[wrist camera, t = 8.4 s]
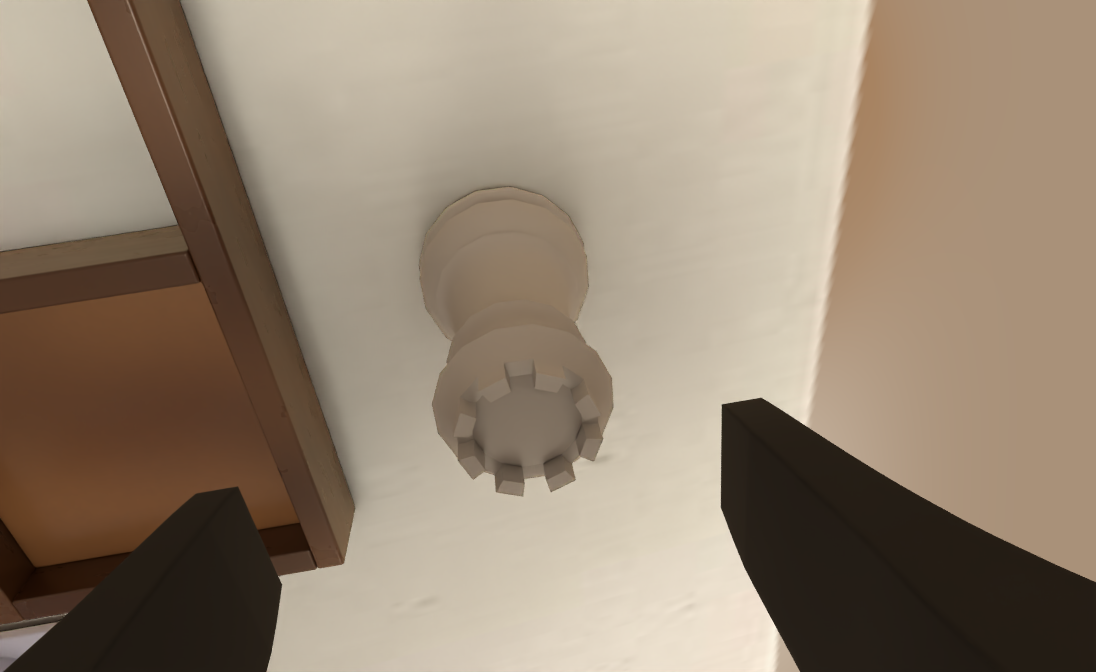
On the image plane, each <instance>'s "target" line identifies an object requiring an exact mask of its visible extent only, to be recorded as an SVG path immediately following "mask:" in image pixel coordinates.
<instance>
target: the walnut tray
mask: <svg viewBox="0 0 1096 672" xmlns="http://www.w3.org/2000/svg"><path fill="white" fill-rule="evenodd" d="M87 1H88V4H89V6H90V8H91V11H92V13H93V16H94V18H95V21H96V23H97V26H98V28H99V31H100V33H101V35H102V38H103V40H104V43H105V45H106V48H107V50H108V53H109V55H110V58H111V60H112V63H113V65H114V67H115V70H116V72H117V75H118V77H119V80H120V82H121V85H122V87H123V90H124V92H125V94H126V97H127V99H128V102H129V104H130V107H131V109H132V112H133V114H134V117H135V119H136V122H137V124H138V126H139V129H140V131H141V134H142V136H143V139H144V141H145V144H146V146H147V149H148V151H149V154H150V156H151V158H152V161H153V163H154V166H155V168H156V171H157V173H158V176H159V178H160V181H161V183H162V185H163V188H164V190H165V193H166V195H167V198H168V200H169V203H170V205H171V208H172V210H173V213H174V215H175V217H176V220H177V222H178V226H172V227H165V228H158V229H152V230H145V231H138V232H132V233H125V234H118V235H112V236H105V237H98V238H92V239H85V240H79V241H72V242H65V243H59V244H52V245H45V246H39V247H32V248H25V249H19V250H12V251H6V252H0V625H2V624H8V623H14V622H19V621H23V620H24V619H25V620H30V619H36V618H41V617H47V616H53V615H58V614H64V613H69V612H70V611H71V610H72V609H73V608H74V607H75V606H76V605H77V604H78V603H79V602H80V601H82V600H83V599H84V598H85V597H86V596H87V595H88V594H89V593H90V592H91V591H92V590H93V589H94V588H95V587H96V586H97V585H98V584H99V583H100V582H101V581H103V580H104V579H105V578H106V577H107V576H108V575H109V574H110V573H111V572H112V571H113V570H114V569H115V568H116V567H117V566H118V565H119V564H120V563H121V562H123V561H124V560H125V559H126V558H127V557H128V556H129V555H130V554H131V553H132V552H133V551H134V550H135V549H136V548H137V547H138V546H139V545H140V544H141V543H142V542H143V541H144V540H145V539H146V538H147V537H148V536H150V535H151V534H152V533H153V532H154V531H155V530H156V529H157V528H158V527H159V526H160V525H161V524H162V523H163V522H164V521H165V520H166V519H167V518H169V517H170V516H171V515H172V514H173V513H174V512H175V511H176V510H177V509H178V508H179V507H181V506H182V505H183V504H184V503H185V502H186V501H187V500H189V499H190V498H191V497H192V496H193V495H195V494H196V493H201V492H207V491H213V490H219V489H225V488H231V487H237V486H238V487H239V490H240V492H241V494H242V496H243V499H244V501H245V503H246V505H247V507H248V510H249V512H250V514H251V516H252V519H253V521H254V523H255V525H256V528H257V530H258V532H259V534H260V537H261V539H262V541H263V543H264V546H265V548H266V550H267V552H268V555H269V557H270V559H271V561H272V564H273V566H274V568H275V570H276V572H277V575H278V576H281V575H286V574H292V573H298V572H304V571H309V570H315V569H317V567H318V568H325V567H331V566H336V565H342V564H343V563H344V561H345V556H346V551H347V546H348V541H349V537H350V532H351V527H352V522H353V517H354V512H355V506H354V503H353V500H352V498H351V495H350V492H349V489H348V486H347V483H346V480H345V477H344V474H343V472H342V469H341V466H340V463H339V460H338V457H337V454H336V451H335V449H334V446H333V443H332V440H331V437H330V434H329V431H328V428H327V425H326V423H325V420H324V417H323V414H322V411H321V408H320V405H319V402H318V400H317V397H316V394H315V391H314V388H313V385H312V382H311V379H310V376H309V374H308V371H307V368H306V365H305V362H304V359H303V356H302V353H301V351H300V348H299V345H298V342H297V339H296V336H295V333H294V330H293V328H292V325H291V322H290V319H289V316H288V313H287V310H286V307H285V304H284V302H283V299H282V296H281V293H280V290H279V287H278V284H277V281H276V279H275V276H274V273H273V270H272V267H271V264H270V261H269V258H268V255H267V253H266V250H265V247H264V244H263V241H262V238H261V235H260V232H259V230H258V227H257V224H256V221H255V218H254V215H253V212H252V209H251V207H250V204H249V201H248V198H247V195H246V192H245V189H244V186H243V183H242V181H241V178H240V175H239V172H238V169H237V166H236V163H235V160H234V158H233V155H232V152H231V149H230V146H229V143H228V140H227V137H226V134H225V132H224V129H223V126H222V123H221V120H220V117H219V114H218V111H217V109H216V106H215V103H214V100H213V97H212V94H211V91H210V88H209V85H208V83H207V80H206V77H205V74H204V71H203V68H202V65H201V62H200V60H199V57H198V54H197V51H196V48H195V45H194V42H193V39H192V37H191V34H190V31H189V28H188V25H187V22H186V19H185V16H184V13H183V11H182V8H181V5H180V2H179V0H87Z"/></svg>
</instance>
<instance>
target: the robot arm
mask: <svg viewBox="0 0 1096 672" xmlns="http://www.w3.org/2000/svg"><path fill="white" fill-rule="evenodd" d="M721 509H722V511H723V514H724V517H725V519H726V522H727V525H728V527H729V530H730V533H731V535H732V538H733V540H734V543H735V545H736V548H737V550H738V553H739V555H740V558H741V560H742V563H743V565H744V568H745V570H746V571H747V573H748V575H749V577H750V579H751V581H752V583H753V585H754V587H755V589H756V591H757V592H758V594H759V596H760V598H761V600H762V602H763V604H764V606H765V607H766V609H767V611H768V613H769V615H770V617H771V619H772V620H773V622H774V624H775V626H776V628H777V630H778V632H779V633H780V635H781V637H782V639H783V641H784V643H785V644H786V646H787V648H788V650H789V652H790V654H791V655H792V657H793V659H794V661H795V663H796V665H797V667H798V669H799V670H800V672H1096V582H1094V581H1091V580H1089V579H1087V578H1085V577H1082V576H1080V575H1078V574H1076V573H1073V572H1071V571H1069V570H1066V569H1064V568H1062V567H1060V566H1057V565H1055V564H1053V563H1051V562H1049V561H1047V560H1044V559H1042V558H1040V557H1038V556H1036V555H1034V554H1032V553H1030V552H1028V551H1025V550H1023V549H1021V548H1019V547H1017V546H1015V545H1013V544H1011V543H1008V542H1006V541H1004V540H1002V539H1000V538H998V537H996V536H994V535H992V534H990V533H988V532H985V531H984V530H982V529H980V528H978V527H976V526H974V525H972V524H970V523H968V522H966V521H964V520H962V519H961V518H959V517H957V516H955V515H953V514H951V513H950V512H948V511H946V510H944V509H942V508H941V507H938V506H937V505H935V504H933V503H931V502H930V501H928V500H926V499H924V498H922V497H920V496H919V495H917V494H915V493H913V492H912V491H910V490H908V489H906V488H905V487H903V486H901V485H899V484H898V483H896V482H894V481H893V480H891V479H889V478H888V477H886V476H884V475H882V474H881V473H879V472H877V471H876V470H874V469H873V468H871V467H869V466H868V465H866V464H864V463H863V462H861V461H860V460H858V459H856V458H855V457H853V456H852V455H850V454H848V453H847V452H845V451H844V450H842V449H840V448H839V447H837V446H836V445H834V444H833V443H831V442H830V441H828V440H827V439H825V438H823V437H822V436H820V435H819V434H817V433H816V432H814V431H813V430H811V429H810V428H808V427H806V426H805V425H803V424H802V423H800V422H799V421H797V420H796V419H794V418H793V417H791V416H790V415H788V414H787V413H785V412H783V411H782V410H780V409H779V408H777V407H776V406H774V405H772V404H771V403H769V402H768V401H766V400H764V399H763V398H757V399H751V400H745V401H739V402H733V403H728V404H722V442H721ZM281 588H282V584H281V581H280V579H279V577H278V575H277V572H276V570H275V568H274V566H273V564H272V561H271V559H270V557H269V555H268V552H267V550H266V548H265V546H264V543H263V541H262V539H261V537H260V534H259V532H258V530H257V528H256V525H255V523H254V521H253V519H252V516H251V514H250V512H249V510H248V507H247V505H246V503H245V501H244V499H243V496H242V494H241V492H240V490H239V487H238V486H237V487H231V488H225V489H219V490H213V491H207V492H201V493H196V494H195V495H193V496H192V497H191V498H190V499H189V500H187V501H186V502H185V503H184V504H183V505H182V506H181V507H179V508H178V509H177V510H176V511H175V512H174V513H173V514H172V515H171V516H170V517H169V518H167V519H166V520H165V521H164V522H163V523H162V524H161V525H160V526H159V527H158V528H157V529H156V530H155V531H154V532H153V533H152V534H151V535H150V536H148V537H147V538H146V539H145V540H144V541H143V542H142V543H141V544H140V545H139V546H138V547H137V548H136V549H135V550H134V551H133V552H132V553H131V554H130V555H129V556H128V557H127V558H126V559H125V560H124V561H123V562H121V563H120V564H119V565H118V566H117V567H116V568H115V569H114V570H113V571H112V572H111V573H110V574H109V575H108V576H107V577H106V578H105V579H104V580H103V581H101V582H100V583H99V584H98V585H97V586H96V587H95V588H94V589H93V590H92V591H91V592H90V593H89V594H88V595H87V596H86V597H85V598H84V599H83V600H82V601H80V602H79V603H78V604H77V605H76V606H75V607H74V608H73V609H72V610H71V611H70V612H69V613H68V614H67V615H66V616H65V617H63V618H62V619H61V620H60V621H59V622H55V623H49V624H43V625H38V626H32V627H26V628H21V629H15V630H9V631H4V632H0V672H266V671H267V667H268V663H269V660H270V656H271V652H272V646H273V641H274V635H275V629H276V623H277V617H278V610H279V603H280V595H281Z"/></svg>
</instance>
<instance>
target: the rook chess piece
mask: <svg viewBox="0 0 1096 672" xmlns="http://www.w3.org/2000/svg"><path fill="white" fill-rule="evenodd" d="M419 269H420V282H421V287H422V292H423V297H424V302H425V307H426V309H427V311H428V313H429V314H430V315H431V317H432V318H433V320H434V321H435V323H436V324H437V325H438V327H439V328H440V330H441V331H442V332H443V334H444V335H445V337H446V338H448V339H449V340H451V341H452V343H451V347H450V350H449V354H448V358H447V365H446V367H445V368H444V369H443V370H442V371H441V373H440V375H439V379H438V382H437V386H436V390H435V394H434V398H433V401H432V407H433V412H434V416H435V421H436V425H437V430H438V434H439V435H440V436H441V437H442V439H443V440H444V441H445V442H446V444H447V445H448V446H449V447H450V449H451V450H452V451H453V453H454V454H455V455H456V456H457V457H458V461H459V463H460V464H461V465H462V467H463V468H464V469H465V470H466V472H467V473H468V474H469V475H470V477H471V478H472V479H473V480H474V479H475V478H476V477H478V476H479V475H480V474H482V473H483V472H486V473H489V474H493V475H495V485H496V492H497V493H504V494H510V495H517V496H523V493H524V484H525V483H524V479H527V478H534V477H540V476H545V477H546V481H547V484H548V486H549V489H550V491H551V492H552V491H554V490H556V489H559V488H561V487H563V486H565V485H567V484H569V483H571V482H573V481H575V476H574V471H573V467H572V463H573V462H575V461H576V460H578V459H579V458H580V457H583V458H586V459H588V460H591V461H594V460H595V458H596V455H597V453H598V450H599V448H600V445H601V443H602V441H603V437H602V434H603V432H604V429H605V427H606V424H607V422H608V419H609V417H610V414H611V412H612V410H613V392H612V378H611V376H610V374H609V372H608V371H607V369H606V367H605V365H604V364H603V362H602V360H601V359H600V357H599V355H598V353H597V352H596V351H595V350H594V349H592V348H591V347H589V346H588V345H587V344H586V342H585V340H584V338H583V337H582V335H581V333H580V332H579V330H578V328H577V326H576V325H575V322H576V320H577V319H578V316H579V313H580V311H581V308H582V305H583V302H584V299H585V297H586V294H587V291H588V287H589V284H588V270H587V256H586V254H585V252H584V243H583V241H582V239H581V238H580V236H579V234H578V232H577V230H576V228H575V226H574V225H573V223H572V221H571V219H570V217H569V216H568V215H567V214H566V213H565V212H563V211H562V210H561V209H560V208H558V207H557V206H556V205H554V204H553V203H552V202H551V201H549V200H548V199H547V198H545V197H544V196H543V195H539V194H535V193H532V192H528V191H524V190H521V189H517V188H513V187H503V188H495V189H487V190H479V191H475V192H473V193H471V194H469V195H468V196H466V197H464V198H462V199H460V200H459V201H457V202H455V203H453V204H452V205H450V206H448V207H446V208H445V210H444V211H443V212H442V213H441V215H440V216H439V217H438V219H437V220H436V221H435V223H434V224H433V225H432V227H431V228H430V229H429V231H428V232H427V233H426V236H425V240H424V244H423V249H422V253H421V257H420V262H419Z"/></svg>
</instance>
